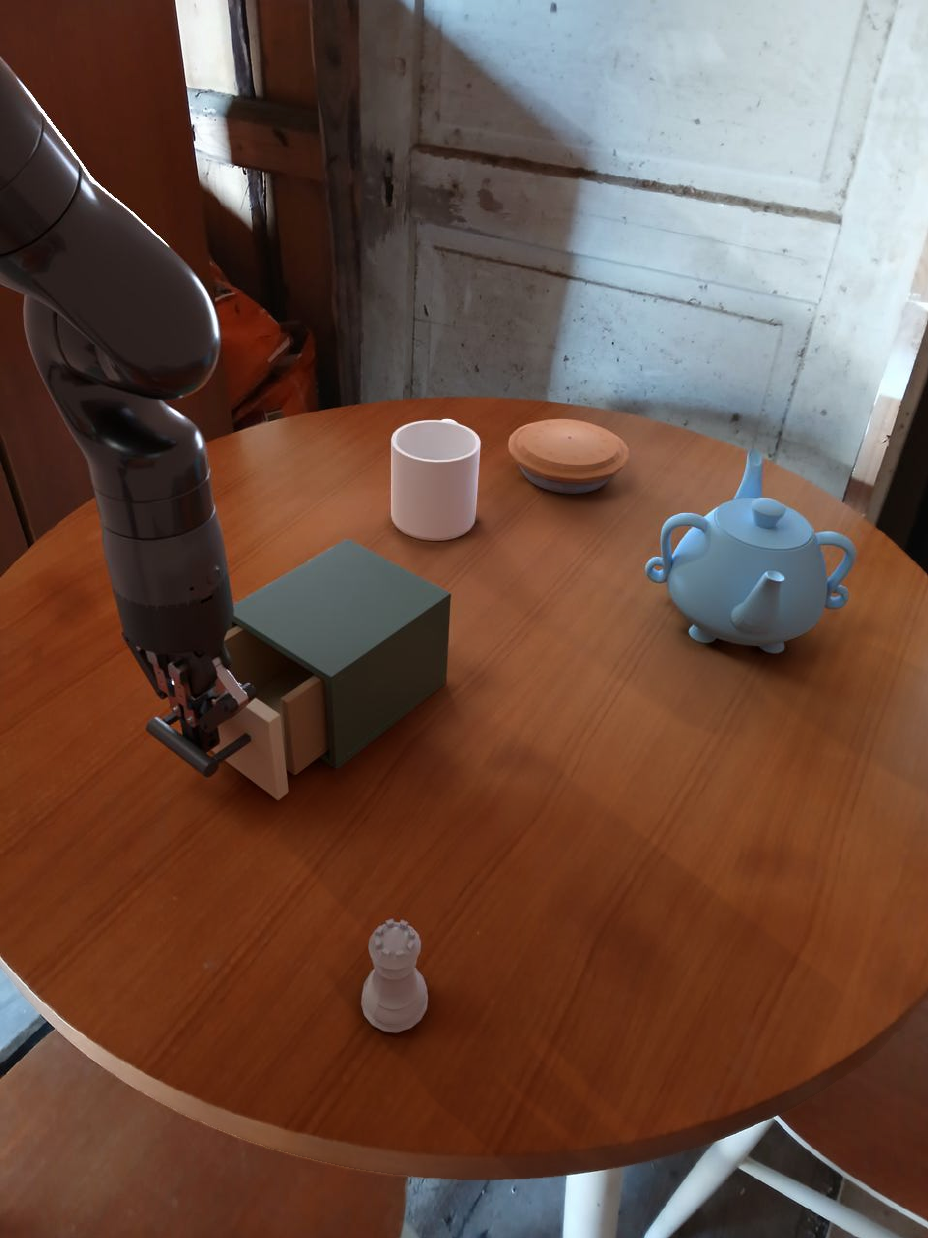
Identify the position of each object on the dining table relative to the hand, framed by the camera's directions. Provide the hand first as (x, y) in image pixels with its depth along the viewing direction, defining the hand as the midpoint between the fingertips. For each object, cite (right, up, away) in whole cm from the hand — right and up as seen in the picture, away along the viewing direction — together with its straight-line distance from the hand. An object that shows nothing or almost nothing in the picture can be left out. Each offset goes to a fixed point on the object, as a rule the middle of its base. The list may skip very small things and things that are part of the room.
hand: (203, 746), depth 71 cm
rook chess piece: (+16, -16, -10) cm, 25 cm away
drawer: (+4, 0, +7) cm, 8 cm away
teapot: (+49, +10, +25) cm, 56 cm away
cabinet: (+9, +3, +13) cm, 16 cm away
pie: (+34, +29, +47) cm, 65 cm away
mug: (+17, +23, +38) cm, 47 cm away
